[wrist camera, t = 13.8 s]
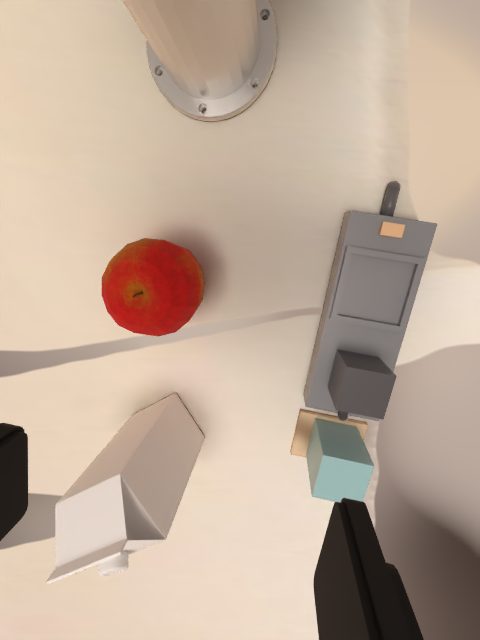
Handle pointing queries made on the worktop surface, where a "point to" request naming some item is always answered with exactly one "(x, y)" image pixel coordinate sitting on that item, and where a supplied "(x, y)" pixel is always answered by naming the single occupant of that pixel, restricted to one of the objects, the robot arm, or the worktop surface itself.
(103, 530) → the milk carton
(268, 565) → the worktop surface
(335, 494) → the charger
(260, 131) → the worktop surface
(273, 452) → the worktop surface
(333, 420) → the cork pad
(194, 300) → the apple
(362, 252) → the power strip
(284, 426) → the worktop surface
